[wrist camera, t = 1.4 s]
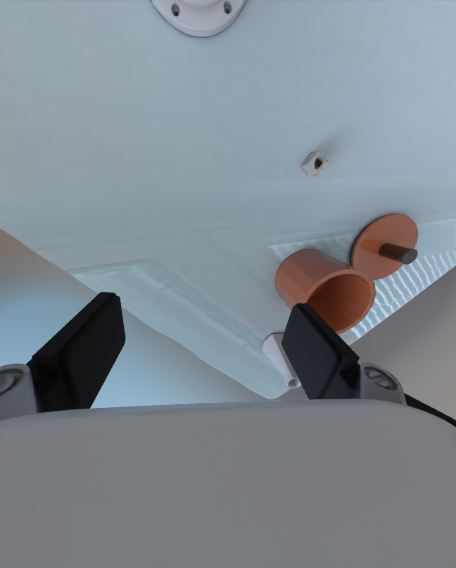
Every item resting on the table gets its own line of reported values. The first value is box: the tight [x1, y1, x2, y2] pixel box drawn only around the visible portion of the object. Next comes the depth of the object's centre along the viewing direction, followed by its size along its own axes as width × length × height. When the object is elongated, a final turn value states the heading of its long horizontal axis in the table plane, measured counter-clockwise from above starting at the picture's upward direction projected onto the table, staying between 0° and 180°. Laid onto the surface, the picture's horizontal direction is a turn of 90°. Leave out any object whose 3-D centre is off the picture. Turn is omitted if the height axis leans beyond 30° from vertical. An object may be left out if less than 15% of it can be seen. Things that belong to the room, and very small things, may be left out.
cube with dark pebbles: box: [300, 150, 328, 176], centre depth 27 cm, size 2×2×2 cm
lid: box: [351, 214, 418, 280], centre depth 33 cm, size 12×12×6 cm
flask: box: [262, 334, 301, 388], centre depth 39 cm, size 7×7×10 cm
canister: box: [275, 249, 376, 334], centre depth 31 cm, size 11×12×10 cm
